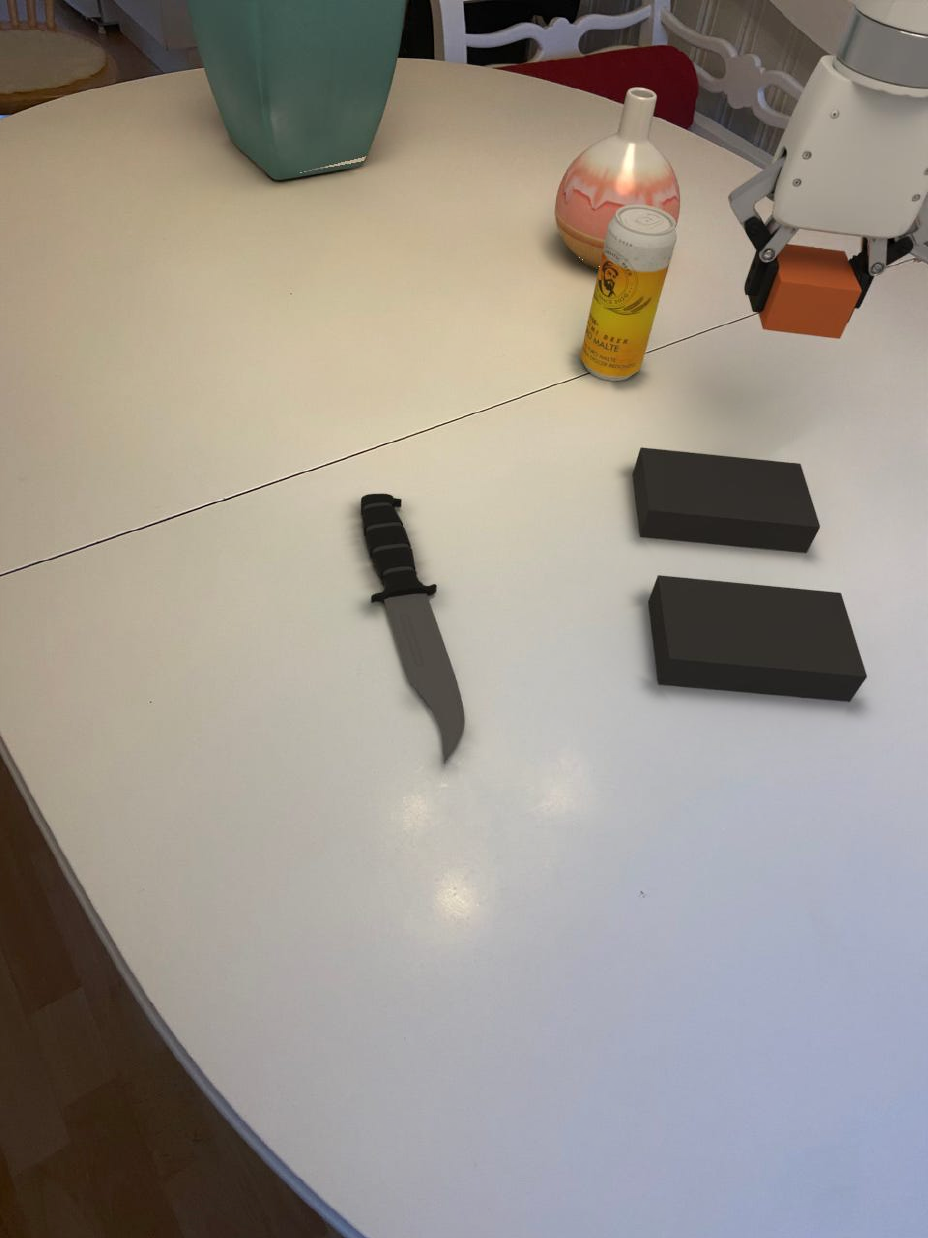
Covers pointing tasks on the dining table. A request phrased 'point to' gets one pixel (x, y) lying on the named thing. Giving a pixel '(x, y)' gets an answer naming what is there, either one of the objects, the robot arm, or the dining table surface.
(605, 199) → the vase
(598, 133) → the dining table surface
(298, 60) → the flower pot
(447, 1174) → the dining table surface
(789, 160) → the robot arm
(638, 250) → the beer can
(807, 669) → the pads
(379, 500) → the knife
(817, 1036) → the dining table surface
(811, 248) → the link piece
